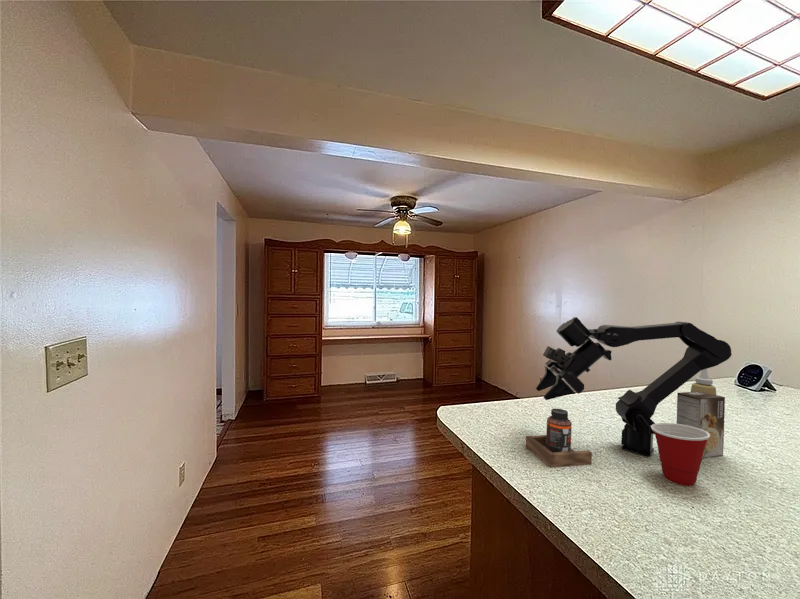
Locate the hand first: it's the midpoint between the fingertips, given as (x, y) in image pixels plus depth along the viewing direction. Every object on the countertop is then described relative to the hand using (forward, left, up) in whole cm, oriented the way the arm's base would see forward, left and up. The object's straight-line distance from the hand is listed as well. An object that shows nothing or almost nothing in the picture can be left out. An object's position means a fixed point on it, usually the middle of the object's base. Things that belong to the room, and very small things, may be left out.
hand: (540, 394), depth 100 cm
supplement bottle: (-8, +6, -13) cm, 16 cm away
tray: (-7, +6, -14) cm, 16 cm away
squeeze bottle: (-31, -65, -14) cm, 74 cm away
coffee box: (-33, -27, -14) cm, 45 cm away
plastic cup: (-31, -3, -14) cm, 34 cm away
